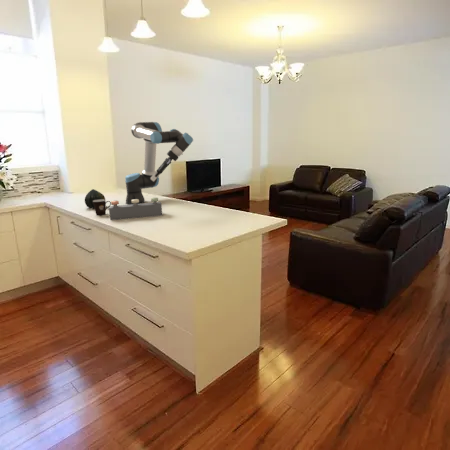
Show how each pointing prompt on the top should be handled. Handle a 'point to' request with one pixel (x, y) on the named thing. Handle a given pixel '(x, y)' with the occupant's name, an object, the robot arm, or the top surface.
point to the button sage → (154, 200)
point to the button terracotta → (114, 203)
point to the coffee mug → (100, 206)
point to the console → (135, 211)
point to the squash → (93, 198)
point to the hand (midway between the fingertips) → (152, 179)
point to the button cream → (135, 201)
